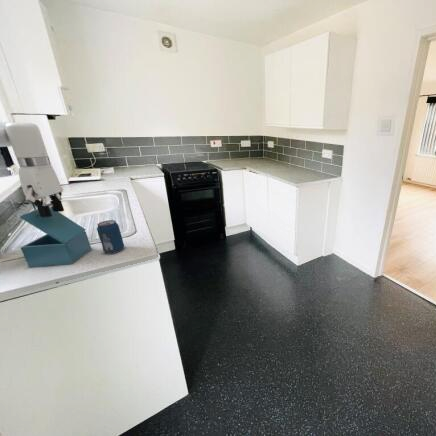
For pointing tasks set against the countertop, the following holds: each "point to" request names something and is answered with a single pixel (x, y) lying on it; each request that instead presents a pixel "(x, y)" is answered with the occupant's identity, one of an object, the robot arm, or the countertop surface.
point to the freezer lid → (54, 224)
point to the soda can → (110, 236)
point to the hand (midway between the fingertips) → (52, 213)
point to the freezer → (55, 250)
